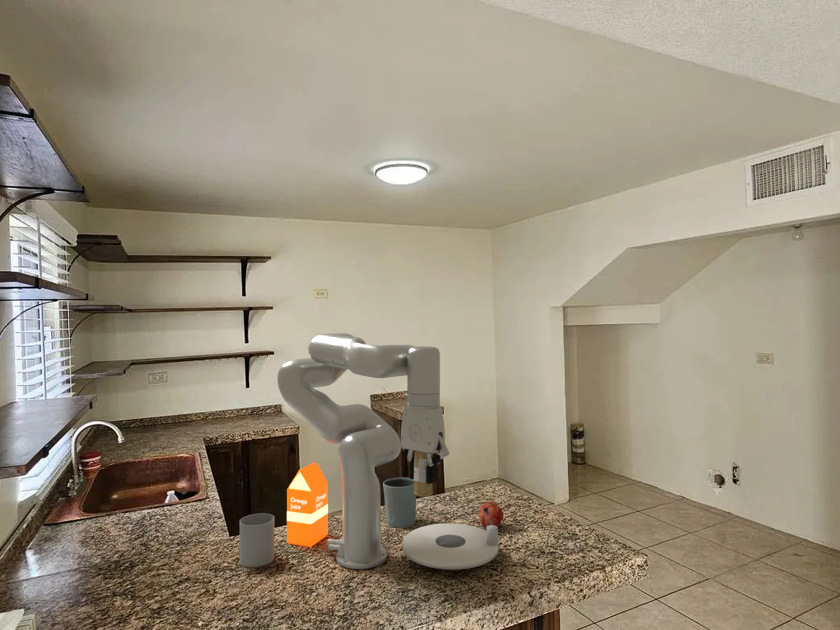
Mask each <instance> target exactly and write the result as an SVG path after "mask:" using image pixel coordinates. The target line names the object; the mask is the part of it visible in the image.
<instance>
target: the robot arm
mask: <svg viewBox="0 0 840 630" xmlns="http://www.w3.org/2000/svg"><path fill="white" fill-rule="evenodd" d="M307 349H308V354H309V356H310V357H308V358H297V359H291V360H289V361H286V362H284V364H282V365H281V366H280V368H279V369H278V372H277V377H276V378H277V387H278V390H279V392H280V395H281V397H282V398H283V400H284V401H285V402H286V404H287V405H288V406H290V408H292V409H293V410H294V411H295V412H297V413H298V414H299V415H300V416H301V417H303V419H305V420H306V422H307V423H308V424H309V425H310V426H311V427H313V429H314V430H315V431H316V432H317V433H318V434H319V435H320V436H321V437H322V438H323V439H325V440H326V442H328V443H329V444H334V445H336V444H339V445H338V449H337V457H338V462H339V466H340V474H341V485H342V486H341V487H342V488H341V490H342V495H341V496H342V497H341V498H342V537H340V538H339V539H336V538H328V539H327V540H326V546H327V547H328V550H329V551H337V553H336V562H337V563H338V564H339V566H342V567H344V568H346V569H352V570H367V569H372V568H375V567H377V566H380V565H381V564H383V563H385V562H386V561H387V558H388V557H387V556H388V553H387V550H386V549H385V548H384V547H383V546H382V544H381V543H382V542H381V540H382V537H381V536H382V535H381V534H382V533H381V531H382V530H381V529H382V528H381V527H382V526H381V525H382V524H381V523H382V521H381V518H382V517H381V484H380V480H379V478H378V476H377V474H376V471H375V469H374V468H376V467H378V466H381V465H384V464H387V463H390V462H392V461H394V460H395V459H397V458H398V457H399V455H400V453H401V450H403V451H404V453H405V454H406V458H407V461H408V462H409V478H410V479H414V452H415V451H418V452H422V453H427V459H428V466H426V483H427V484H431V483H432V484H433V483H436V482H437V481H438V465H440V464H441V462H442V460H443V459H444V458H446V457H447V456H449V454H450V451H449V449H448V446H447V445H446V436H445V435H446V432H445V431H446V429H445V419H444V413H443V408H442V406H441V352H440V349H439V348H437V347H435V346H422V345H421V346H414V345H412V344H411V345H410V344H387V345H386V344H385V345H378V344H377V345H376V344H375V345H374V344H367V343H366V341H365V340H364V339H363V338H361V337H356V336H354V335H352V334H349V333H347V332H346V333H344V332H343V333H341V332H340V333H338V332H337V333H321V334H318V335H316V336H315V337H313V338H312V339H311V340H310V342H309V344H308V348H307ZM347 370H349V371H350V372H351V373H353V375H354V374H355V375H358V376H362V377H369V378H374V379H387V378H396V377H406V376H407V379H406V380H407V382H406V384H407V387H406V388H407V390H406V391H407V393H405V397H404V398H405V399H407V400H406V401H407V402H406V404H405V405H404V409H403V412H402V417H401V425H400V427H401V428H400V429H401V430H400V437H399V435H398V433H397V432H396V430H395V429H394V428H393V427H392V426H391V425H390V424H389V423H387V422H386V421H385V420H384V419H383V418H382V417H381V416H380V415H378V414H377V412H375V411H374V410H373V409H372V408H370V407H369V406H367V405H364V404H362V403H352V404H348V405H340V404H338V403H336V402H335V401H334V400H333V399H331V398H330V397H329V395H328V394H326V393H324V392H322V391H320V390H317V389H316V388H322V387H328V386H331V385H332V384H334V383H335V382H336V381H338V379H340V378H341V377H342V375H343V374H344V373H345V372H347ZM432 454H433V456H432Z"/></svg>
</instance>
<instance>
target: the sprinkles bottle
mask: <svg viewBox="0 0 840 630" xmlns="http://www.w3.org/2000/svg"><path fill="white" fill-rule="evenodd" d="M432 456H433V457H434V455H433V454H432ZM426 466H428V459H427V453H422V452H418V451H414V494H415V495H416V496H417V497H430V496H432V495H433V494H434V491H433V483H431V484H427V483H426Z"/></svg>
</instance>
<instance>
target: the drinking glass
mask: <svg viewBox="0 0 840 630" xmlns="http://www.w3.org/2000/svg"><path fill="white" fill-rule="evenodd" d="M382 486H383V495H384V496H383V497H384V510H385V520H386V525H387V526H389V527H391V528H394V529H395V528H396V529H403V528H410V527H413V526H414V525H415V524H416V516H417V515H416V513H417V512H416V511H417V509H416V508H417V497H416V495H415V494H414V479H410V477H393V478H388V479H385V480H384V481H383V483H382Z"/></svg>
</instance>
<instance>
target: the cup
mask: <svg viewBox="0 0 840 630" xmlns="http://www.w3.org/2000/svg"><path fill="white" fill-rule="evenodd" d="M274 560H275V515H273V514H270V513H254V514H249V515H247V516H244V517H242V518H241V519H239V565H241V566H242V567H245V568H259V567H263V566H266V565H269V564H270V563H272V562H273V561H274Z"/></svg>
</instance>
